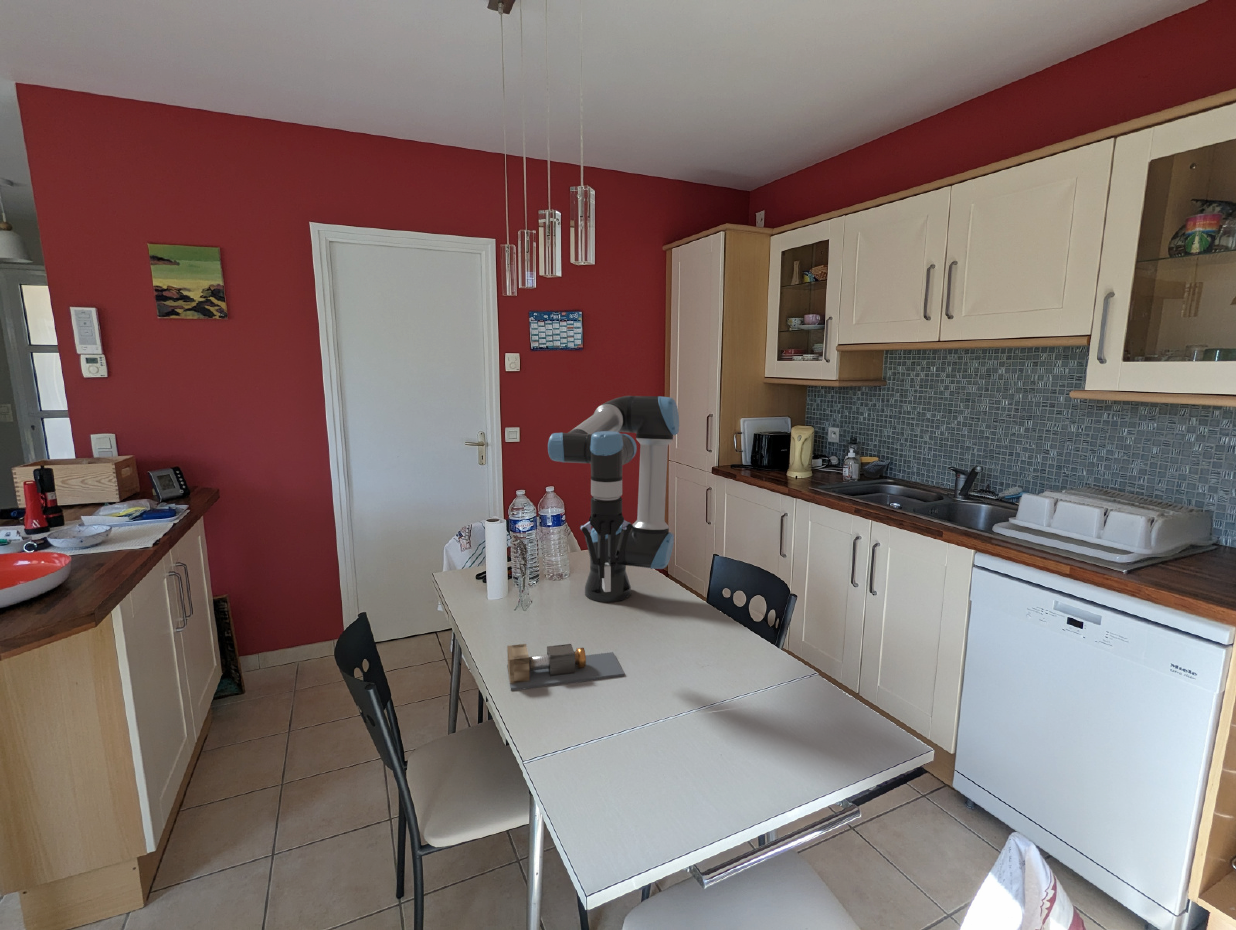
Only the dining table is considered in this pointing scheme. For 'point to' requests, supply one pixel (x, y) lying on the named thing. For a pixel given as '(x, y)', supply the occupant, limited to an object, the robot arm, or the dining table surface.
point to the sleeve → (561, 660)
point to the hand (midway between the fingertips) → (606, 589)
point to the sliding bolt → (544, 660)
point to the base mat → (594, 669)
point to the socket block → (518, 663)
